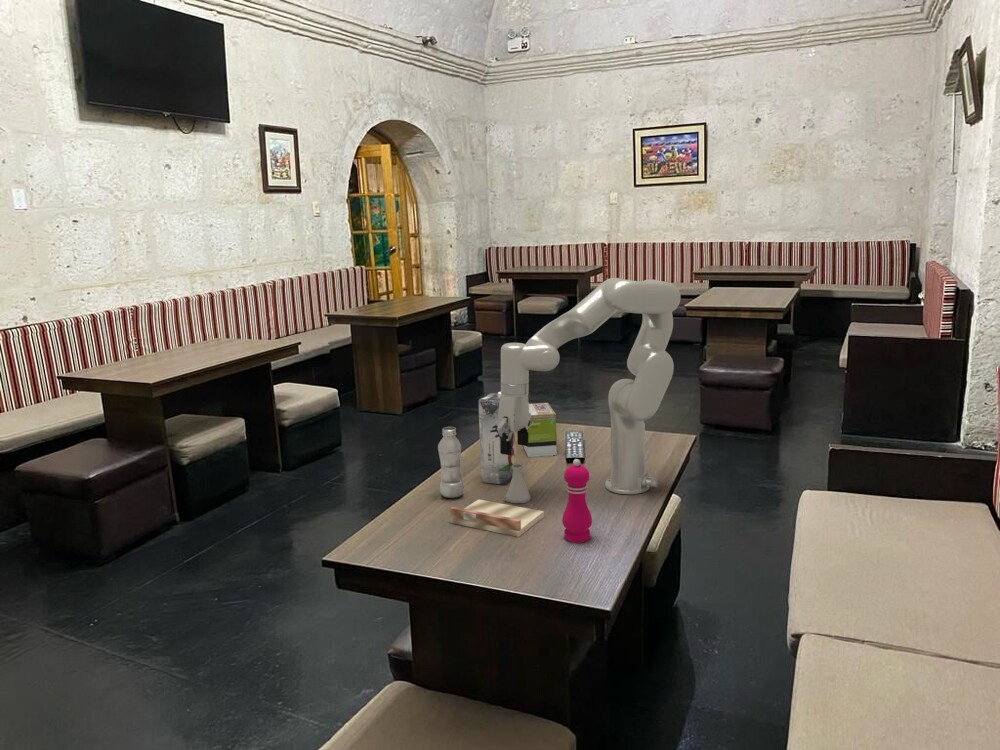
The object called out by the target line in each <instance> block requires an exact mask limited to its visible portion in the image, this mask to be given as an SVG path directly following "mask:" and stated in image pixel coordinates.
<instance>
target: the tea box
mask: <svg viewBox="0 0 1000 750" xmlns="http://www.w3.org/2000/svg"><path fill="white" fill-rule="evenodd" d="M529 413H531V418H530V425H529V431H527V432H528V446H523V445H522V447H523V448H524V451H525V453H526V455H527V457H528V458H541V456H542V458H543V457H554V456H553V455H555V456H557V455H558V453H557V452H558V450H557V449H558V447H557V445H558V443H557V441H558V440H557V438H558V437H557V414H556V412H555V411H554V409H553V408H552V406H551V405H550V404H549V402H540V403H539V402H538V403H529Z"/></svg>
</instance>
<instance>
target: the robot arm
mask: <svg viewBox="0 0 1000 750" xmlns="http://www.w3.org/2000/svg"><path fill="white" fill-rule="evenodd" d="M681 300H682V299H681V293H680V290H679V288H678V287H677V286H676V285H675V284H673V283H671V282H667V281H663V280H658V279H645V280H642V281H640V280H639V281H638V280H630V279H624V278H619V277H610V278H607V279H606V280H604V281H603V282H602V283H600V284H599V285H598V286H597V287H596V288H594V289H593V290H592V291H591V292H589V294H588V295H586V296H585V297H584V298H583V299H582V300H581V301H579V302H578V303H577V304H576V305H575V306H574V307H572V308H571V309H570V310H568V311H567V312H564V313H563V314H561V315H560V316H558V317H557V318H555V319H554V320H552V321H550V322H549V323H547V324H546V325H544V326H543V327H542V328H541V329H539V331H537V332H536V333H534V335H533V336H532V337H530V338H529V339H528V340H527V342H526V343H522V342H507V343H504V344H503V345H501V347H500V392H501V397H500V402H499V412H498V427H497V431H498V436H499V440H500V453H501V454H505V455H511V454H512V441H510V439H511V436H512V433H514V432H515V433H516V432H517V434H516V435H517V436H516V437H517V445H519V446H522V447H523V446H528V432H527V431H529V425H530V418H531V413H529V404H530V403H529V393H530V392H529V390H530V389H529V387H530V386H529V385H530V384H529V383H530V379H529V377H530V373H529V371H536V372H549V371H553V370H554V369H556V367H557V366H558V365H559V363H560V353H559V351H558V349H559V348H560V347H561V346H563V345H565V344H566V343H568V342H569V341H572V340H574V339H578V338H583V337H585V336H586V337H587V336H588V335H590V334H593V332H595V331H596V330H597V329H599V327H601V326H602V325H603V324H604V323H606V321H608V320H609V319H610V318H611V317H612V316H614V315H615V314H616V313H617V312H622V313H631V314H641V315H642V320H641V321H642V322H641V326H640V328H639V331H638V334H637V336H636V339H635V341H634V344H633V346H632V347H631V350H630V352H629V354H628V358H627V361H626V366H627V369H628V371H629V372H630V373H631V374H632V375H633V376H635V378H634V380H633V379H632V378H622V379H619V380H617V381H615V382H614V383H612V385H611V387H610V388H609V391H608V400H607V401H608V409H609V415H610V478H608V479H607V480H606V481H604V482H605V483H604V485H605V488H606V490H607V491H610V492H612V493H615V494H620V495H638V494H642V493H645V492H647V491H649V490H650V487H652V488H658V487H659V480H658V479H657V478H656V477H649V476H648V471H645V449H646V448H645V440H646V439H645V436H646V427H645V426H646V424H645V421H647V420H649V419H651V418H652V417H653V416H654V415H655V414H656V412H657V411H658V410H659V408H660V406H661V403H662V400H663V399H664V396H665V395H666V391H667V389H668V387H669V385H670V383H671V380H672V378H673V375H674V368H675V367H674V366H675V365H674V361H673V360H674V359H673V358H672V357H671V355H670V354H669V353H668V351H666V349H667V346H668V344H669V341H670V338H671V336H672V333H673V328H674V317H673V312H674V311H676V309H677V308H678V307H679V304H680V302H681ZM505 432H506V433H508V436H507V435H506V433H505Z"/></svg>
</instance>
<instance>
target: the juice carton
mask: <svg viewBox="0 0 1000 750" xmlns="http://www.w3.org/2000/svg"><path fill="white" fill-rule="evenodd" d="M500 397H501V391H498V392H497V393H495V392H490V393H488V394H487V396H484V397H481V398H479V399H478V422H479V423H478V424H479V425H478V427H479V459H480V474H481V481H482V482H483V483H485V484H494V485H505V484H507V483H508V482H509V481H511V480H512V474H513V469H512V465H513V464H517V462H516V461H517V459H516V458H517V456H516V432H514V433H512V436H511V439H510V441H512V454H511V455H505V454H501V453H500V440H499V436H498V431H497V427H498V412H499V402H500ZM505 433H506V432H505ZM506 435H507V436H508V433H506Z"/></svg>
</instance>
